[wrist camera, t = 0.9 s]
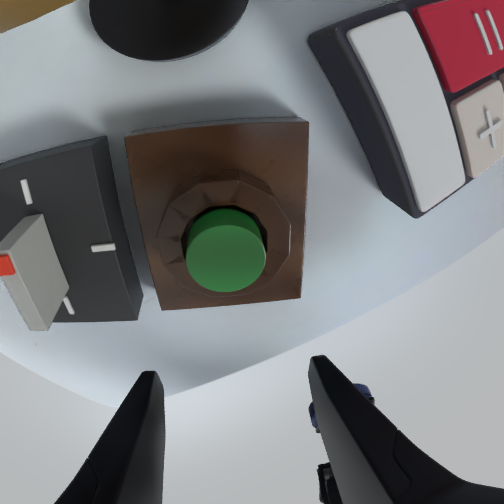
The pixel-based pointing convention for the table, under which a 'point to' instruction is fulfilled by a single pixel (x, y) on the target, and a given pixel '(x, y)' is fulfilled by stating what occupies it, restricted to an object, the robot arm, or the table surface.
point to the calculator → (421, 93)
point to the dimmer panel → (77, 226)
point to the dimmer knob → (33, 272)
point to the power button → (225, 250)
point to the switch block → (222, 200)
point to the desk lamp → (143, 23)
